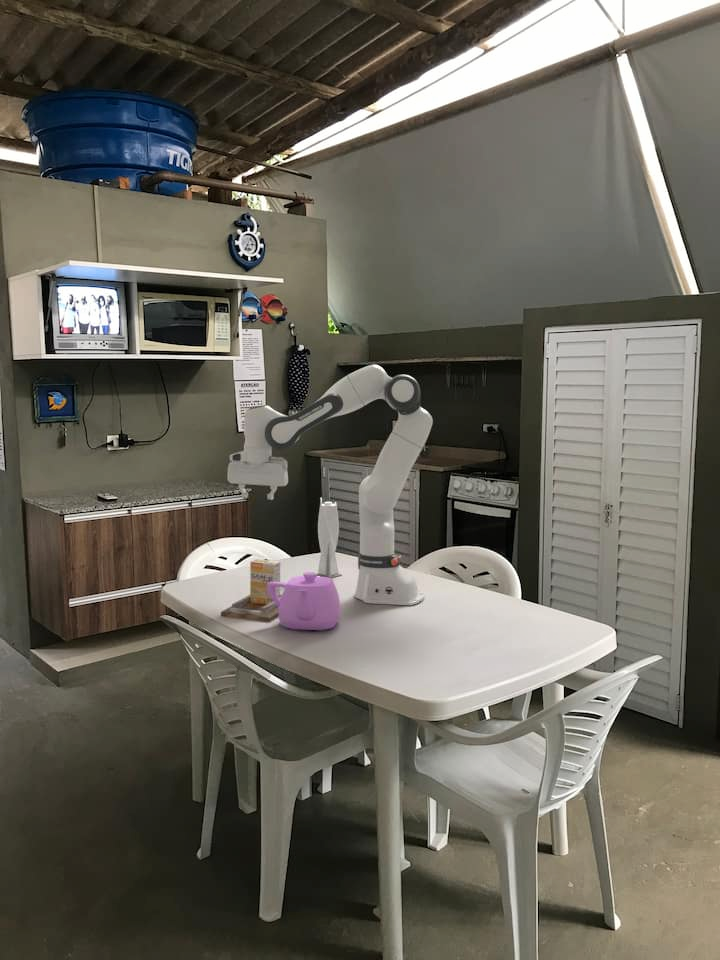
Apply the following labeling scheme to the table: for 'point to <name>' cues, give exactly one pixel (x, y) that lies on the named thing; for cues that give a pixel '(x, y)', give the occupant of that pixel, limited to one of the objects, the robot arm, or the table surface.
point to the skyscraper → (328, 539)
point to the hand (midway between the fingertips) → (257, 498)
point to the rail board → (252, 610)
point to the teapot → (307, 602)
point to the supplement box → (263, 580)
